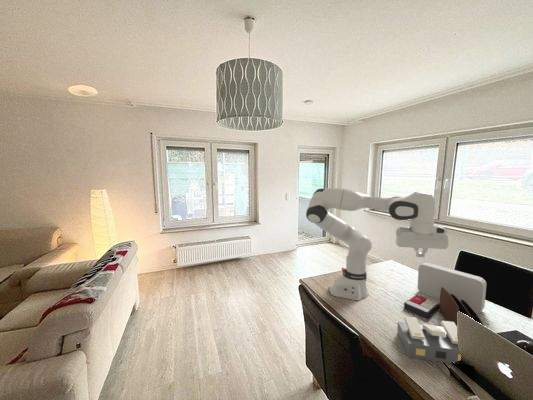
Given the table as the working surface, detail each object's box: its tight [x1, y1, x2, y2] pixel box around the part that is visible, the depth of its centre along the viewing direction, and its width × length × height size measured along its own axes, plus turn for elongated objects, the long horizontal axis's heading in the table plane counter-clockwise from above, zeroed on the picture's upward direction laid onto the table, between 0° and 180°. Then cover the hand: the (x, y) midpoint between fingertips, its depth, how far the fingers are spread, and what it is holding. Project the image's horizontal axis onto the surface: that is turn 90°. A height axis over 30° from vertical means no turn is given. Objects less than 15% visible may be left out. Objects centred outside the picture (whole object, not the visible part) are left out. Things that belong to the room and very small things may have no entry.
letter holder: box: [438, 287, 484, 326], centre depth 104 cm, size 10×20×14 cm, turn 159°
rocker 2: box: [422, 323, 446, 337], centre depth 90 cm, size 4×9×2 cm, turn 166°
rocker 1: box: [403, 315, 425, 340], centre depth 91 cm, size 4×9×2 cm, turn 166°
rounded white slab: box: [417, 262, 487, 315], centre depth 123 cm, size 29×8×18 cm, turn 33°
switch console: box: [396, 321, 461, 364], centre depth 90 cm, size 22×13×7 cm, turn 76°
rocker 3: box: [440, 320, 458, 344], centre depth 88 cm, size 4×9×2 cm, turn 166°
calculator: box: [403, 294, 439, 320], centre depth 117 cm, size 11×4×15 cm
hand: (420, 256), depth 101 cm, fingers closed
